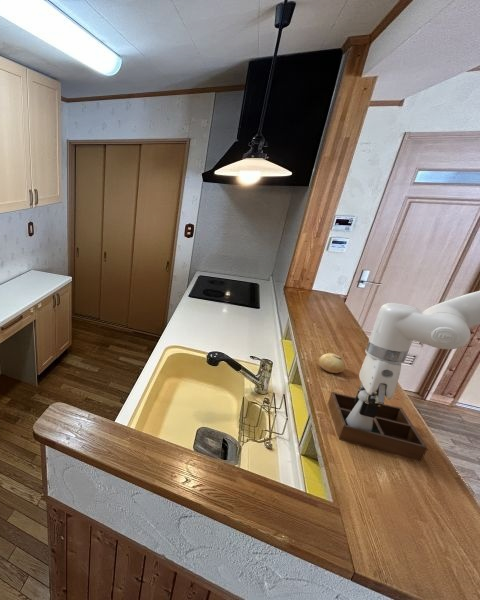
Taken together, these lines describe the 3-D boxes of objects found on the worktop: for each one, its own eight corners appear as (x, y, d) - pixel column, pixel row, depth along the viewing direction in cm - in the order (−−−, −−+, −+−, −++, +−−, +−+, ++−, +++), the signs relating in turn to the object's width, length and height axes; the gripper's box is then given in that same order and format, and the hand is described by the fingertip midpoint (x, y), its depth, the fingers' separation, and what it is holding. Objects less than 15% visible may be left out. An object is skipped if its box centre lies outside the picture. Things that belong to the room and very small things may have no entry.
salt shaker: (349, 437, 89) (363, 398, 84) (338, 423, 94) (351, 385, 89) (374, 441, 87) (389, 401, 83) (362, 426, 93) (376, 388, 88)
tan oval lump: (318, 372, 120) (323, 355, 118) (315, 362, 127) (319, 346, 124) (344, 378, 117) (350, 361, 114) (340, 367, 123) (345, 351, 121)
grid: (327, 403, 103) (331, 391, 102) (396, 420, 96) (401, 408, 94) (339, 439, 89) (343, 425, 88) (420, 461, 82) (427, 447, 80)
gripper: (419, 371, 73) (392, 434, 79) (393, 340, 87) (372, 396, 94) (377, 363, 76) (354, 425, 83) (358, 335, 90) (340, 389, 97)
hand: (364, 409), depth 88 cm, fingers closed on salt shaker, 4 cm apart
